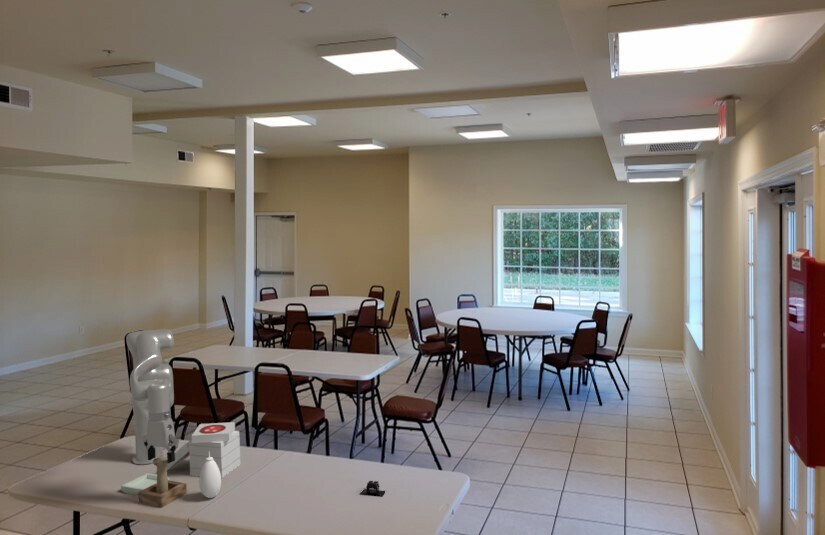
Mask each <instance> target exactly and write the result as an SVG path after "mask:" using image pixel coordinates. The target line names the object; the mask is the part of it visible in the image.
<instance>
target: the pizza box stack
mask: <svg viewBox="0 0 825 535" xmlns="http://www.w3.org/2000/svg"><path fill="white" fill-rule="evenodd" d="M240 441H241V439H240V430H236V423H235V421H233V422H232V421H231V422H217V423H215V422H214V423H213V422H212V423H200V424H199V425H198V426H197V427H196V429H195V431H194V432H193V433H192V434H191V439H190V440H188V442H186V443H185V444H183V446H181V447H180V448H179V449H178V450H176V452H175V461H173V462H171V463H169V464H167V465H166V469H167V471H168V470H170V469H172V468H173V467H174V466H176V465H178V464H180V463H181V462H183V461H184V460H186V459H187V458H189V475H190V476H191V475H198V476H197V477H200V473H201V469H202V466H203V464H204V463H205V461H206V458H208V457H209V452H210V457H213V460H214V461H215V462H216V464H217V466H218V468H219V470H220V474H221V479H223V478H225V477H226V476H227V475H228V474H230V473H231V472H232V471H234V470H235V469H237V468H238V467H239V466H241V464H242V462H241V444H240V443H241V442H240ZM237 466H238V467H237ZM233 469H234V470H233ZM230 471H231V472H230ZM229 472H230V473H229ZM226 474H227V475H226ZM225 475H226V476H225Z"/></svg>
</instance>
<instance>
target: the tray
mask: <svg viewBox="0 0 825 535" xmlns="http://www.w3.org/2000/svg"><path fill="white" fill-rule="evenodd" d="M167 478H168V480H170V477H169V476H167ZM170 481H171V480H170ZM156 483H157V474H153V473H147V472H146V473H145V474H142V475H141V476H138V477H136V478H134V479H132V480H130V481H128V482H126V483H124V484H121V485H120V490H121V493H123V494H124V493H125V494H130V495H133V496H138V492H140V491H142V490H144V489H146V488H148V487H150V486H152V485H154V484H156Z"/></svg>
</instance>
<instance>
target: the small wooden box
mask: <svg viewBox="0 0 825 535" xmlns="http://www.w3.org/2000/svg"><path fill="white" fill-rule="evenodd" d="M187 491H188V490H187V483H184V482H179V481H175V480H168V491H166V492H164V493H162V494H159V493H158V492H157V483H156V484H154V485H152V486H150V487H148V488H146V489H144V490H142V491H140V492H138V495H137V496H138V500H137V501H138V503H139V504H144V505H148V506H153V507H156V508H157V507H158V508H164V507H166V506H167V505H169V504H170V503H173V502H174V501H177V500H178V499H180V498H182V497H183V496H185V495H186V494H187Z"/></svg>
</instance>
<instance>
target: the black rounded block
mask: <svg viewBox="0 0 825 535" xmlns="http://www.w3.org/2000/svg"><path fill="white" fill-rule="evenodd" d="M364 489H365V490H363V489H362V490H363V491H362V490H361V491H362V492H361V491H360V492H359V494H358V495H360V496H368V497H369V496H370V497H376V498H377V497H378V498H383V497H384V495H385V494H386V493H385V491H386V490H383V491H382V490H380V483H379V481H378V480H377V481H376V480H375V481H374V480H369V481H368V482H367V483H366V487H365V488H364Z"/></svg>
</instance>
